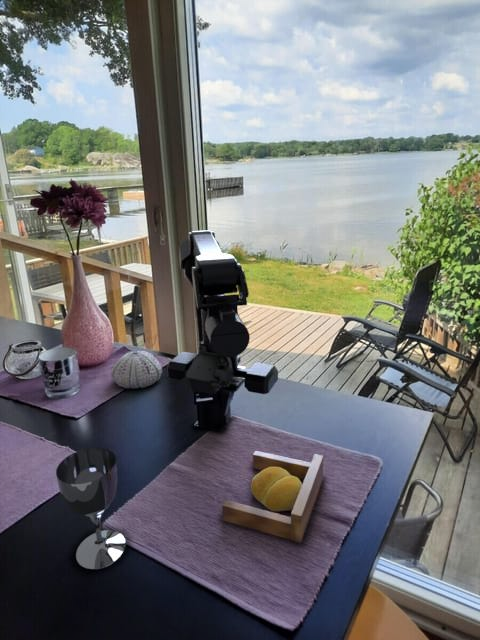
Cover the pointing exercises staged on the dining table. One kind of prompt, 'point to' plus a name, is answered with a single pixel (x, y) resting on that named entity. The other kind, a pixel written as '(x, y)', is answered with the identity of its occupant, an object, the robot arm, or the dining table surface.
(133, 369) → the sea urchin shell
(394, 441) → the dining table surface
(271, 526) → the open wooden frame
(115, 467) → the wine glass
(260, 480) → the bread roll
